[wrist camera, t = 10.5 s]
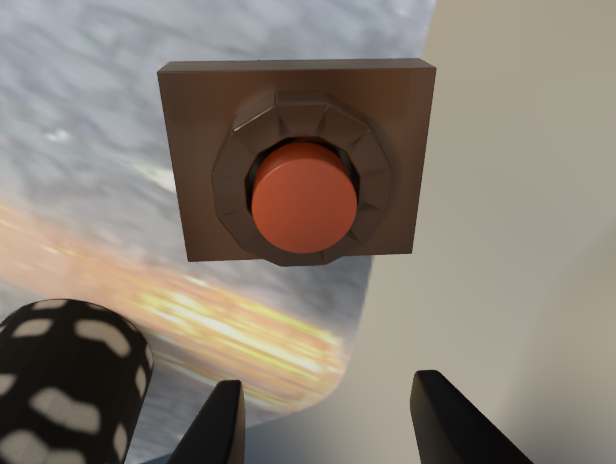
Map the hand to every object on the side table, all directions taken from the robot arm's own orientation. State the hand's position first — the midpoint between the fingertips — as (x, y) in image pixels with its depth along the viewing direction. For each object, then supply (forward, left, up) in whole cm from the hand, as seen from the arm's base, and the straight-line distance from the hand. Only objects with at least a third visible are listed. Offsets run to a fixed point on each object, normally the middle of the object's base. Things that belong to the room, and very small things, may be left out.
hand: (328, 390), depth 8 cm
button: (0, 0, -9) cm, 9 cm away
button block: (0, 0, -13) cm, 13 cm away
